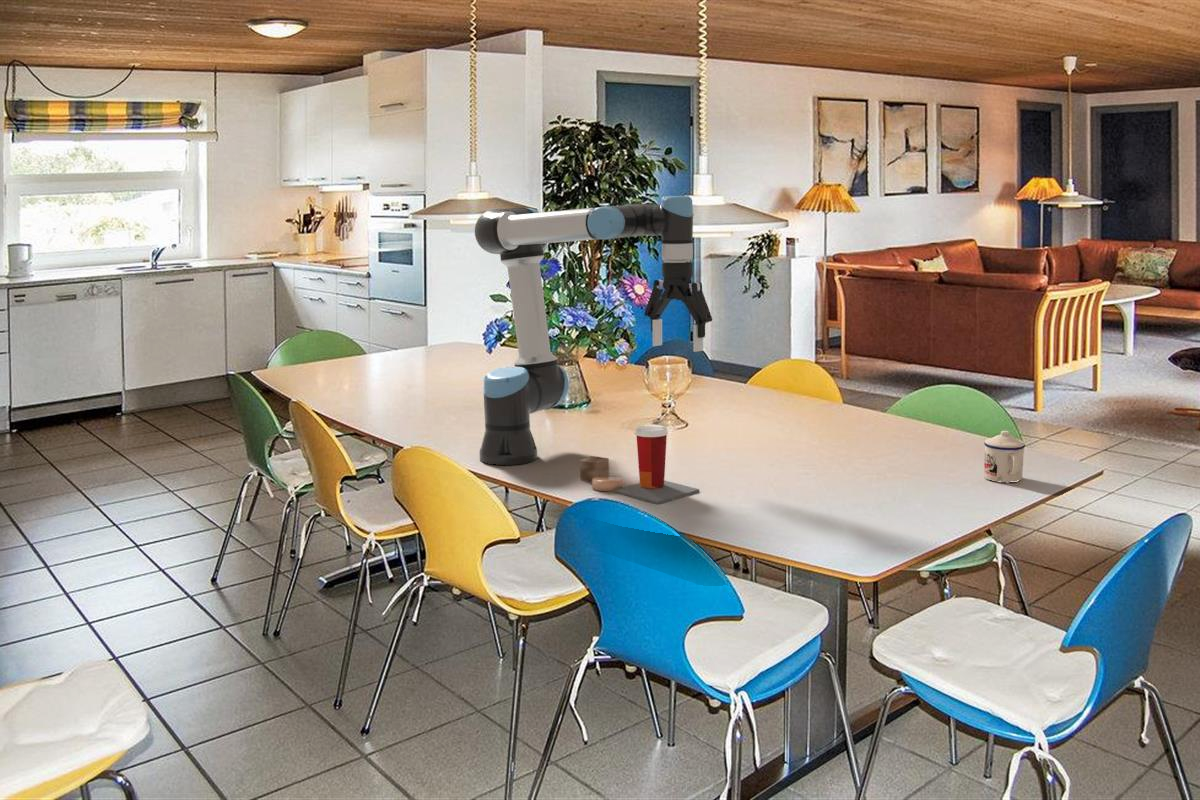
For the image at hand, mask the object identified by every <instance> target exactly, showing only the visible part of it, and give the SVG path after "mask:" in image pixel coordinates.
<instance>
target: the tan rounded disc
mask: <svg viewBox="0 0 1200 800" xmlns="http://www.w3.org/2000/svg"><path fill="white" fill-rule="evenodd" d="M591 483H592V484H591V485H592V487H591V488H592V490H595V491H599V492H600V491H601V492H614V490H615V489H619V488H623V479H622V478H620V477H616V476H609V477H596V478H593V479H592V482H591Z"/></svg>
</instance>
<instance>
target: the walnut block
mask: <svg viewBox="0 0 1200 800" xmlns="http://www.w3.org/2000/svg"><path fill="white" fill-rule="evenodd" d="M579 461H580V462H579V463H580V464H579V465H580V471H579V472H580V481H586V482H590V483H592V479H593V478H596V477H610V468H609V467H610V466H609V465H610V464H609V462H610V460H609V457H602V456H596V455H595V456H594V455H590V456H587V457H586V458H585V457H584V458H583V459H580V460H579Z"/></svg>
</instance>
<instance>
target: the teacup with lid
mask: <svg viewBox="0 0 1200 800" xmlns="http://www.w3.org/2000/svg"><path fill="white" fill-rule="evenodd" d="M1010 434H1011V433H1010V431H1008V430H1002V431H1000V434H998V435H995V436H994V437H989V438H986V439H985V441H984V443H983V444H984V445H985V446H984V448H985V449H984V464H983V477H985V478H987V479H990V480H994V481H1001V482H1010V481H1017V480H1021V479H1022V480H1023V469H1024V467H1023V466H1024V454H1025V453H1024V450H1025V447H1026V443H1025V442H1024V441H1023V440H1022V439H1019V438H1017V437H1015V436H1014V435H1010ZM985 478H984V479H985ZM987 479H986V480H987ZM1022 480H1021V481H1022Z"/></svg>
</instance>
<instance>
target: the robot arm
mask: <svg viewBox="0 0 1200 800" xmlns="http://www.w3.org/2000/svg"><path fill="white" fill-rule="evenodd" d="M693 205H694V204H693V199H692V197H690V196H688V195H665V196H663V197H661V203H660V204H648V203H646V204H643V203H642V204H641V203H639V204H638V203H630V204H622V205H603V206H602V205H601V206H598V207H587V208H577V209H576V208H575V209H566V210H554V211H543V212H540V210H539V211H538V210H537V209H534V208H531V207H524V206H522V207H519V206H518V207H510V208H509V207H508V208H494V209H490V210H487V211H485V212H484V213H482V214H481V215H480V216H479V218H478V219H477V220H476V222H475V226H474V236H475V240H476V242H477V244H478V246H479V247H480V248H481V249H482V250H483V251H484V252H485V251H486V252H487V253H489V254H493V255H499V257H500V262H501V263H502V264H503V265H504V266H506V269H507V272H508V282H509V291H510V296H511V305H512V312H513V320H514V325H515V335H516V342H517V350H518V351H517V352H518V357H517V359H516V360H515V362H514V366H506V367H500V368H496V369H493V370H490V371H489V372H487V373H486V375H485V376H484V377H483V378H484V379H483V389H482V391H483V405H484V424H485V425H484V427H485V428H484V434H483V438H482V440H481V441H482V443H481V447H480V448H479V461H481V462H482V463H484V462H485V463H484V464H487V463H488V464H487V465H493V464H496V466H514V465H522V464H528V463H531V462H533V461H536V460H537V459H538V448H537V446H536V442H535V439H534V436H533V433H532V431H531V424H530V423H531V422H530V420H531V418H530V417H531V415H530V414H533V413H538V412H540V411H543V410H550V409H552V408H554V407H557V406H558V405H560V404H561V403H562V402H563V401H564V400H565V398H566V397H567V394H568V391H569V386H570V383H569V377H568V374H567V372H566V371H565V370H564V368H563V367H562V366H560V365H559V363H558V357H557V355H554V354H553V353H552V351H551V344H550V343H551V342H550V336H549V329H548V328H549V327H548V321H547V320H548V319H547V312H546V304H545V297H544V289H543V282H542V275H541V274H542V273H541V264H540V263H541V262H542V260H543V259H544V258H545V252H544V248H545V247H547V245H548V244H551V243H565V242H579V241H580V242H581V241H592V240H593V241H594V240H612V239H618V238H630V237H631V238H632V237H640V236H641V237H643V236H645V237H646V236H648V237H649V236H652V237H653V236H658V237H661V259H662V260H663V261H662V263H661V276H662V277H663V279H662V278H661V279H659V278H658V279H654V280H653V284H652V285H653V287H652V288H653V289H652V290H651V294H650V296H649V299H648V301H647V304H646V307H645V309H644V316H645V317H648V318H649V319H650V332H652V347H658V346H659V347H660V346H663V319H662V315H663V312H664V311H665V310H666V308H667V307H668V305H669V303H670V302H671V301H672V300H676V301H681V302H682V303H683V304H684V306H685V307H686V309H687V310H688V312H689V314H690V315H691V317H692V318H693V320H694V322H695V323H693V331H692V332H693V333H692V334H693V336H692V337H693V339H692V340H693V345H692V347H693V353H695V352H697V353H698V352H703V351H704V338H705V337H706V324H707V323H710V322H712V321H713V317H712V314H711V311H710V308H709V306H708V303H707V300H706V297H705V294H704V292H703V284H702V282H700V281H697V282H692V278H693V276H694V263H693V262H692V261H691V260H693V258H694V241H693V237H694V236H693V235H694V233H693V232H694V227H693V226H694V215H695V214H694V208H693V207H694V206H693Z"/></svg>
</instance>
